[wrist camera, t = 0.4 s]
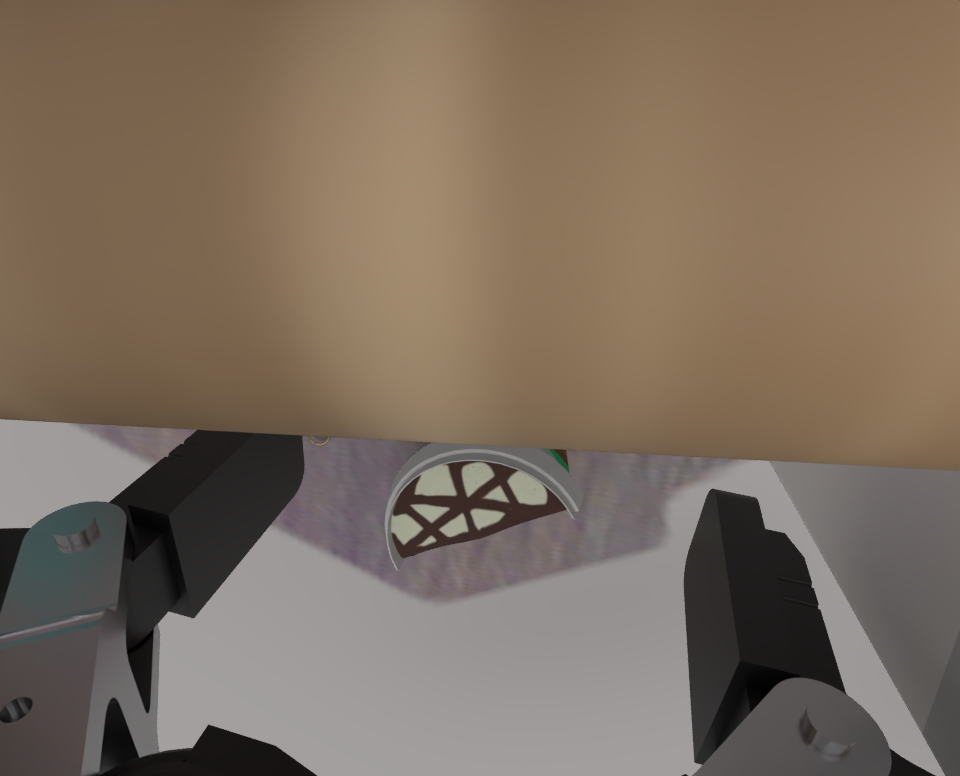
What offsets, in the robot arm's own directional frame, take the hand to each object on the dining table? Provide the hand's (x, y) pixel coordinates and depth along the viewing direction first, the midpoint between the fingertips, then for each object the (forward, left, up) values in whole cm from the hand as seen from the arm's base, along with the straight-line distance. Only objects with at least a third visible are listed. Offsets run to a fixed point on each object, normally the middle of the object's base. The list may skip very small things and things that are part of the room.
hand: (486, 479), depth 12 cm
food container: (+12, -5, -28) cm, 31 cm away
